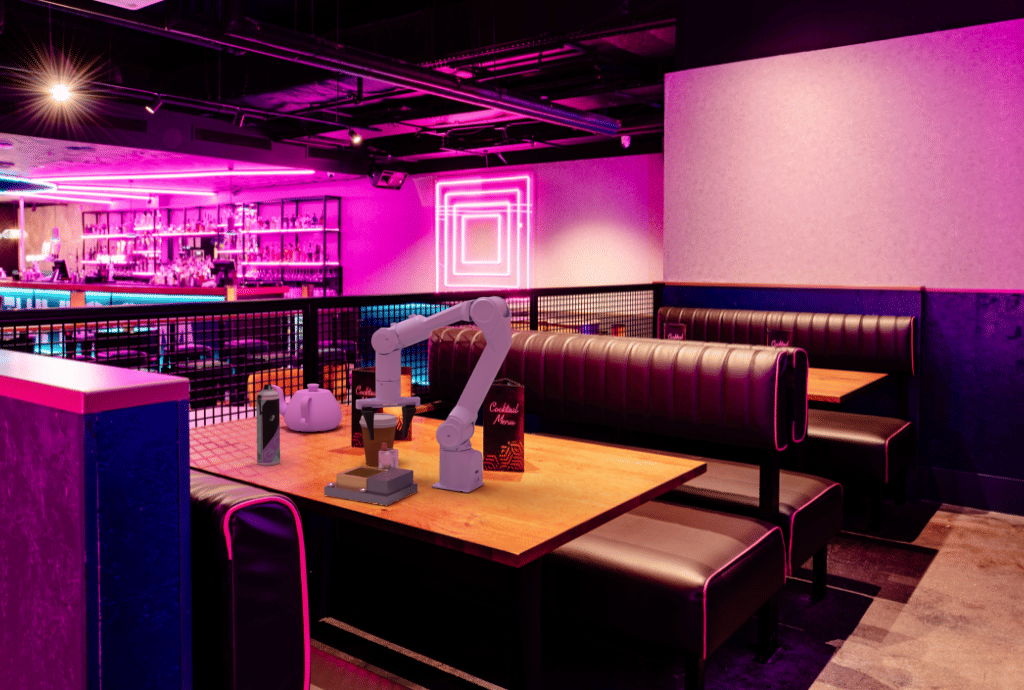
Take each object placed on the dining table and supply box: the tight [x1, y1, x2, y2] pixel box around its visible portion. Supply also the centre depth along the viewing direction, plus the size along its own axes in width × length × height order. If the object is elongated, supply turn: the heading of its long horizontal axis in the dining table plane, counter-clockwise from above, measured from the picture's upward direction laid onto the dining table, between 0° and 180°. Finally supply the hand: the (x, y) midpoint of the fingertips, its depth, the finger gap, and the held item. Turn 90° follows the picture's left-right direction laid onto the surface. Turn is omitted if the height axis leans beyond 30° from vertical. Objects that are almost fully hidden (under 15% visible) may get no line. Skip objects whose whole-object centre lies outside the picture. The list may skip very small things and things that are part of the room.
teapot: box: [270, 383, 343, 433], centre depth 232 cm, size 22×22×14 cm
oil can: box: [378, 443, 399, 470], centre depth 176 cm, size 4×4×9 cm
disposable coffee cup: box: [359, 412, 399, 467], centre depth 192 cm, size 10×10×12 cm
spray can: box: [255, 383, 281, 467], centre depth 189 cm, size 6×6×20 cm
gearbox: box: [323, 465, 419, 506], centre depth 165 cm, size 16×12×5 cm
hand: (388, 438), depth 176 cm, fingers open, 7 cm apart
